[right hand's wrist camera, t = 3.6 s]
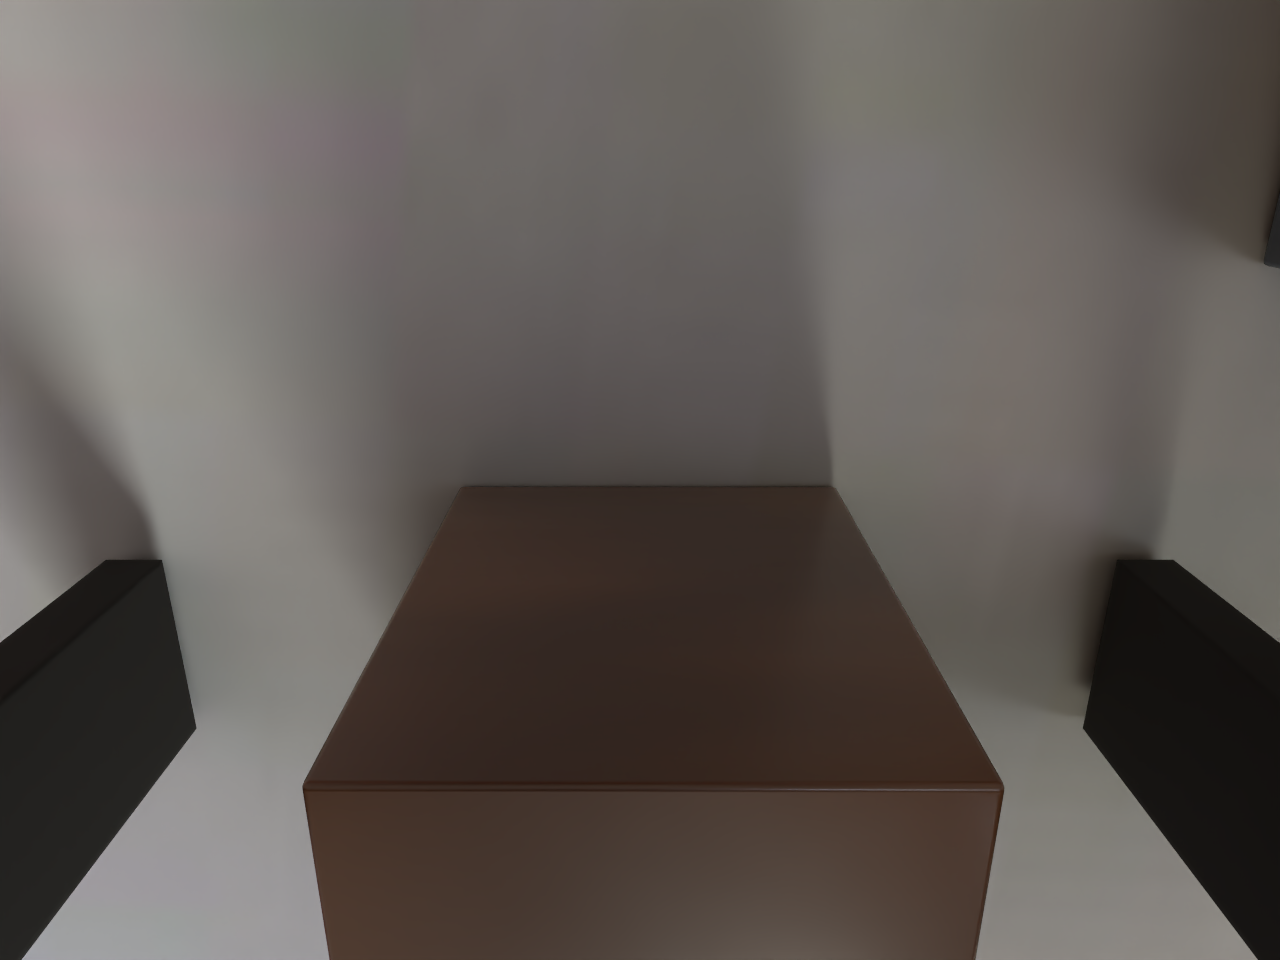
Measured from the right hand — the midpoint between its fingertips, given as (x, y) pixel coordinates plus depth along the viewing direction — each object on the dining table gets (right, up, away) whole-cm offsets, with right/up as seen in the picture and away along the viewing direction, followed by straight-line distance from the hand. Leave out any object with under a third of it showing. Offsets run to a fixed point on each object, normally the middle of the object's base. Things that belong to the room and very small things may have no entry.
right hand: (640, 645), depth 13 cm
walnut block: (0, 0, 0) cm, 0 cm away
